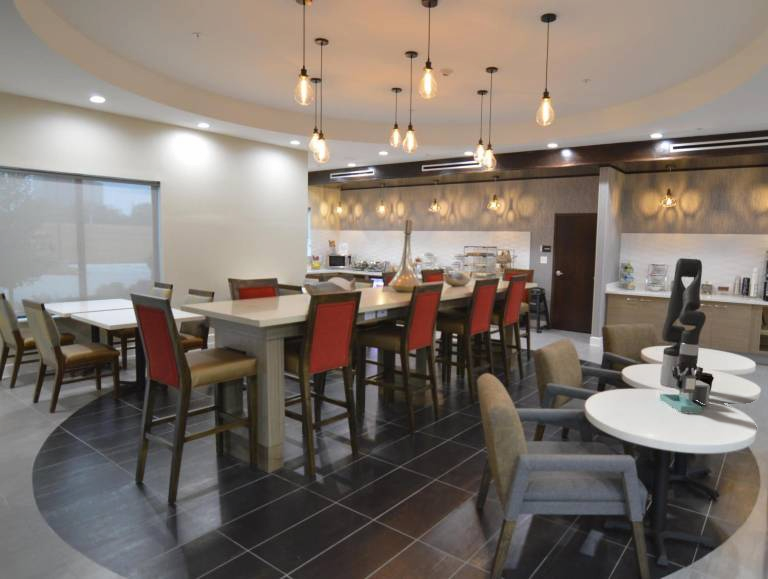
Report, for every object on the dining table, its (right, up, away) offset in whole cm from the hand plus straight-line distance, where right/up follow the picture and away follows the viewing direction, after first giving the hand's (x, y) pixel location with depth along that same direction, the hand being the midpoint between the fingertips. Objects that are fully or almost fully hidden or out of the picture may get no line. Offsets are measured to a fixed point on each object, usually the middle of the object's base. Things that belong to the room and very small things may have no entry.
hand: (685, 387), depth 241 cm
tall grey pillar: (0, -1, +3) cm, 4 cm away
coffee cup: (+19, -9, +18) cm, 28 cm away
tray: (0, -10, +4) cm, 11 cm away
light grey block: (+10, -9, +10) cm, 17 cm away
